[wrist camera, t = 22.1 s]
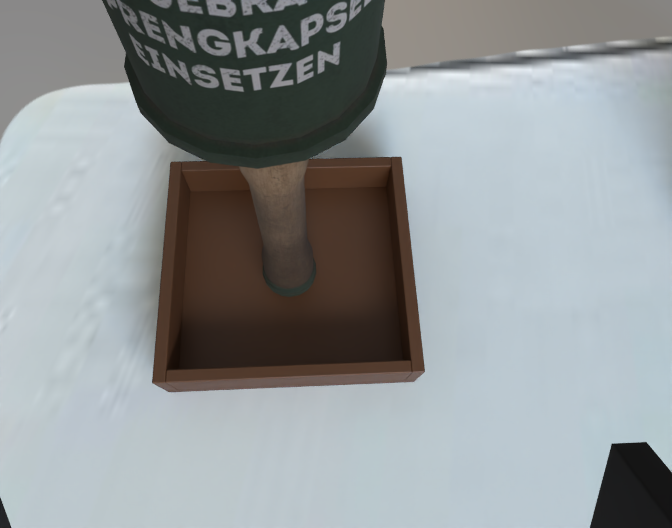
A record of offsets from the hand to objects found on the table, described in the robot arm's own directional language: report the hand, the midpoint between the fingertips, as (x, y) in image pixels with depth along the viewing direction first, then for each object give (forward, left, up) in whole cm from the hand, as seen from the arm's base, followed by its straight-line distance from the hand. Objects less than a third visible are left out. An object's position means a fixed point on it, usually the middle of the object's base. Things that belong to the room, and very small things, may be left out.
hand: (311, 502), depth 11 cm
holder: (+1, -14, -23) cm, 27 cm away
